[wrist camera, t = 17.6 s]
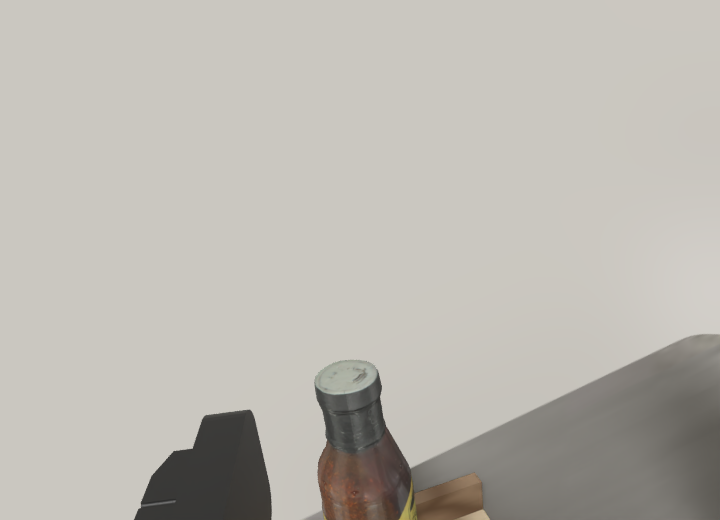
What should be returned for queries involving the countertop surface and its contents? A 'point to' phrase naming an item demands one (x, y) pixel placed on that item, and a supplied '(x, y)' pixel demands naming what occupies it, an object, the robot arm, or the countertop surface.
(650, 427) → the countertop surface
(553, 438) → the countertop surface
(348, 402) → the sauce bottle
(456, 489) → the track
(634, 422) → the countertop surface
